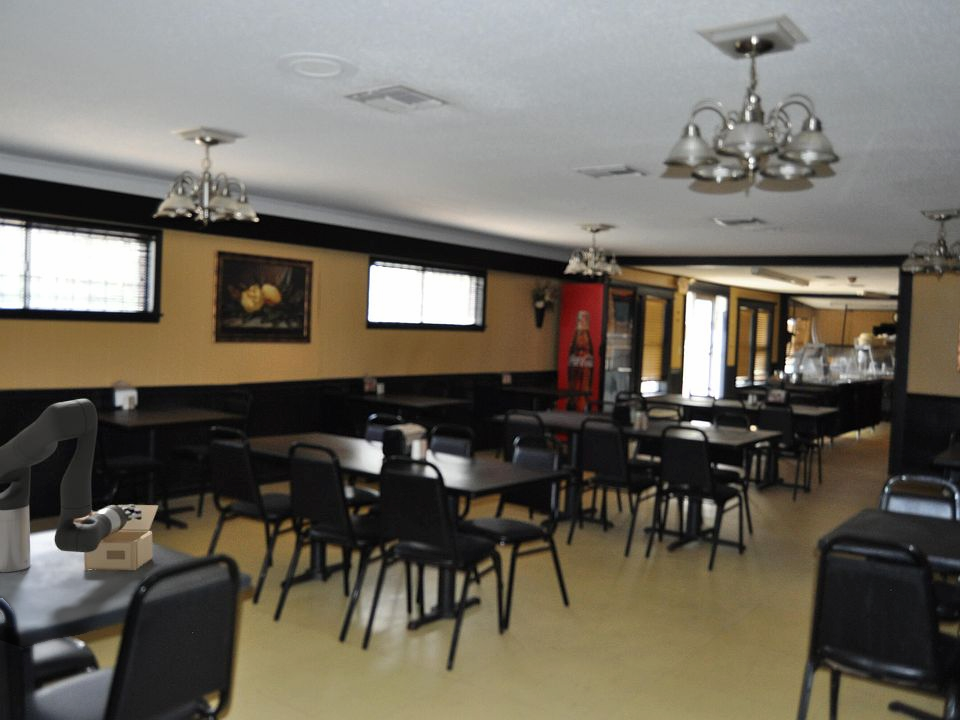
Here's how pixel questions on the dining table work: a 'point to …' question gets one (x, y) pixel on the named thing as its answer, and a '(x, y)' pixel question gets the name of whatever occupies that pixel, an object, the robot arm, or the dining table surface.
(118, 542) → the carton
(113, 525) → the robot arm
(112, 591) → the dining table surface
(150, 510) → the flap
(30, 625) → the dining table surface
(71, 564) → the dining table surface
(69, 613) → the dining table surface
